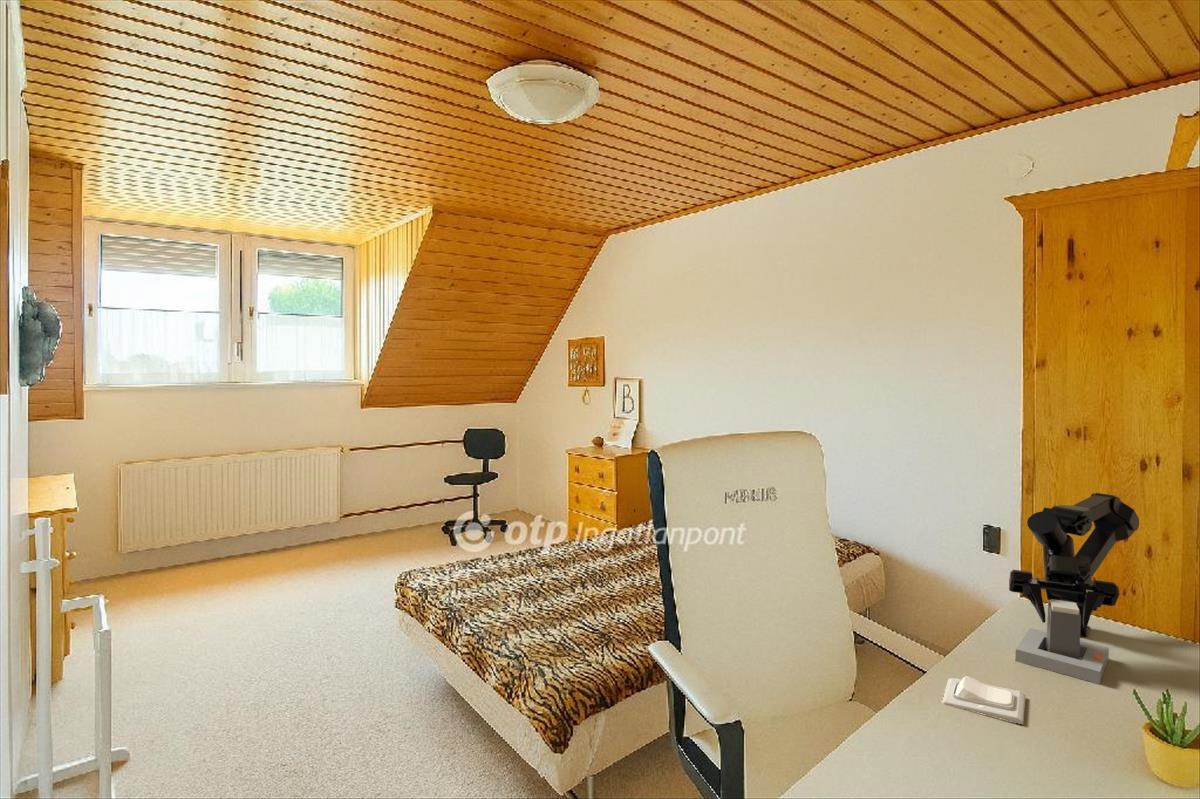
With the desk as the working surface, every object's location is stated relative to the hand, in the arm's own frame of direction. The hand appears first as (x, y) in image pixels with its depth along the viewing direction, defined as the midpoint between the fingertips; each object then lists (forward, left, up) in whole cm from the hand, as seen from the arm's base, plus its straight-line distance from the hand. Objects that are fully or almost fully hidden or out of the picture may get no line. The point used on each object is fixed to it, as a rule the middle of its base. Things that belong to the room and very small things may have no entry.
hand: (1064, 625), depth 132 cm
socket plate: (-1, 0, -8) cm, 8 cm away
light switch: (+27, -8, -9) cm, 30 cm away
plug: (-1, 0, -8) cm, 8 cm away
